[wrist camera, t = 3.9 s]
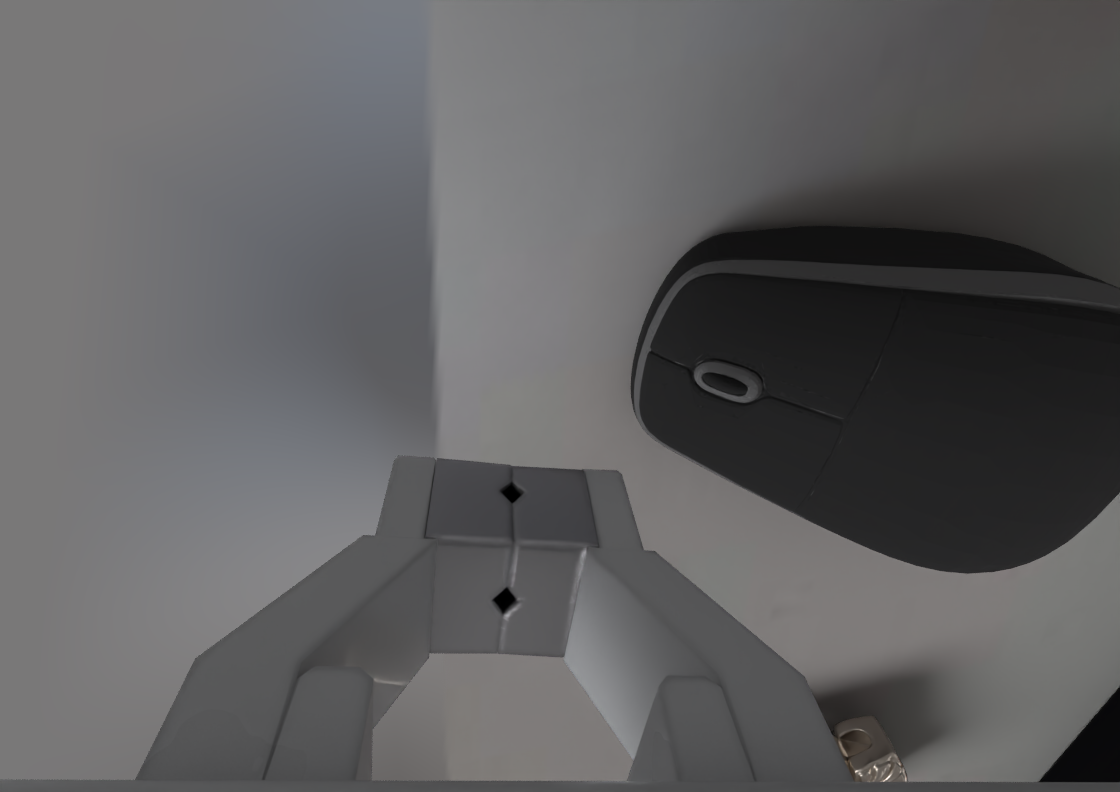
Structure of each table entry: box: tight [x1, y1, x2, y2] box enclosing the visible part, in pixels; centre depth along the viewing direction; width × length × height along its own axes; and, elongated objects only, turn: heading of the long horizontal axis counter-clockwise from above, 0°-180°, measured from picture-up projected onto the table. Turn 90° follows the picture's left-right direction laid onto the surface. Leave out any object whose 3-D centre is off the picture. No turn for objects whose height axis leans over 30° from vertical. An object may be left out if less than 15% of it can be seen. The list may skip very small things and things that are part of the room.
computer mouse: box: [631, 226, 1120, 573], centre depth 14 cm, size 7×12×4 cm, turn 77°
